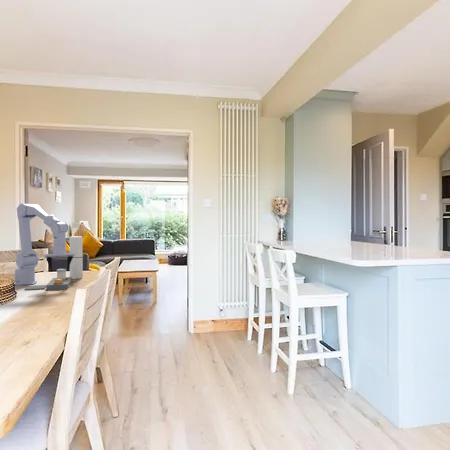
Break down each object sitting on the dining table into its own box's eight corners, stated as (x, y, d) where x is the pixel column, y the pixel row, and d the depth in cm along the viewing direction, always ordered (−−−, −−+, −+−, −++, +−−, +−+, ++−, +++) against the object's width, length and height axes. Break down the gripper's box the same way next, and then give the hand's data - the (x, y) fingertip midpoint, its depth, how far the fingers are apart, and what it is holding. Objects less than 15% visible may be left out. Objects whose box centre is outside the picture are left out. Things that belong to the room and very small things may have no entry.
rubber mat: (24, 290, 182) (24, 289, 182) (28, 286, 191) (28, 285, 191) (44, 289, 185) (44, 288, 185) (47, 286, 193) (47, 284, 193)
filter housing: (46, 290, 183) (46, 285, 183) (53, 282, 204) (53, 277, 204) (67, 289, 186) (67, 284, 186) (72, 281, 207) (72, 277, 207)
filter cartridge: (56, 284, 197) (56, 270, 196) (57, 283, 201) (57, 268, 201) (65, 284, 198) (65, 269, 198) (66, 282, 203) (66, 268, 202)
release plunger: (53, 286, 186) (53, 280, 186) (55, 284, 189) (55, 279, 189) (61, 285, 187) (61, 279, 187) (62, 284, 190) (62, 278, 190)
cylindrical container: (78, 279, 214) (77, 237, 214) (67, 278, 216) (67, 236, 215) (85, 277, 221) (84, 236, 221) (74, 276, 223) (74, 236, 222)
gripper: (43, 246, 182) (43, 273, 183) (74, 245, 188) (74, 271, 188) (44, 245, 189) (45, 271, 189) (74, 244, 194) (75, 269, 195)
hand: (59, 271), depth 189 cm, fingers open, 7 cm apart
